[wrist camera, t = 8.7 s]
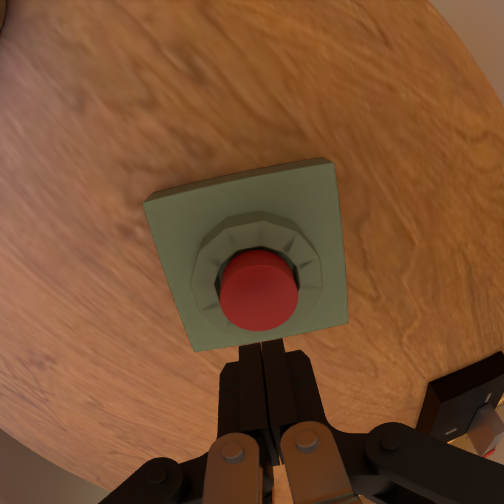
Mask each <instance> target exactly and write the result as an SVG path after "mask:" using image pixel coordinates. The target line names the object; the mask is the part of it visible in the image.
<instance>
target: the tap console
mask: <svg viewBox="0 0 504 504" xmlns="http://www.w3.org/2000/svg"><path fill="white" fill-rule="evenodd" d="M503 393H504V354H503V353H502V352H501V351H500V352H498V353H496V354H494V355H492V356H490V357H488V358H486V359H484V360H482V361H480V362H478V363H475V364H473V365H471V366H469V367H466V368H464V369H462V370H459V371H457V372H455V373H452V374H450V375H447V376H445V377H443V378H440V379H437V380H435V381H432V382H430V383H429V385H428V389H427V393H426V397H425V400H424V404H423V407H422V410H421V414H420V417H419V420H418V423H417V426H416V429H415V430H418V431H420V432H422V433H424V434H427V435H429V436H431V437H434V438H436V439H438V440H441V441H443V442H445V443H447V442H449V441H451V440H453V439H455V438H458V437H460V436H462V435H464V434H466V432H467V430H468V428H469V426H470V424H471V422H472V420H473V418H474V416H475V414H476V412H477V410H478V408H480V407H482V406H484V405H486V404H488V403H491V405H492V406H493V408H494V409H495V408H496V407H497V405H498V403H499V401H500V399H501V397H502V395H503ZM503 405H504V403H503V404H501V405H499V406H498V407H497V409H498V408H500V407H501V406H503ZM468 438H469V437H468V435H467V437H466V439H468Z"/></svg>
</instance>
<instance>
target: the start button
mask: <svg viewBox="0 0 504 504" xmlns="http://www.w3.org/2000/svg"><path fill="white" fill-rule="evenodd" d="M297 302H298V290H297V287H296V284H295V281H294V278H293V275H292V272H291V269H290V267H289V265H288V264H287V263H286V261H285V260H284V259H283V258H281V257H280V256H279V255H277V254H275V253H273V252H270V251H266V250H250V251H247V252H244V253H241V254H239V255H237V256H236V257H235V258H233V259H232V260H231V261H230V262H229V263H228V264H227V266H226V267H225V269H224V271H223V274H222V280H221V290H220V305H221V308H222V311H223V313H224V315H225V316H226V317H227V319H228V320H229V321H230V322H232V323H233V324H234V325H236V326H238V327H240V328H242V329H245V330H249V331H266V330H270V329H273V328H276V327H278V326H280V325H281V324H283V323H284V322H286V321H287V320H288V319H289V318H290V317H291V315H292V314H293V312H294V311H295V308H296V306H297Z"/></svg>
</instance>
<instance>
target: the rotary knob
mask: <svg viewBox="0 0 504 504" xmlns="http://www.w3.org/2000/svg"><path fill="white" fill-rule="evenodd" d="M466 433H467V435H468V437H469V438H470V440H471V442H472V444H473V445H474V448H475V449H476V451H477V453H478V455H479V456H480V457H483V458H486V457H488V456H489V455H491V454H493V452H494V451H495V448H496V446H497V445H498V443H499V442H500V440H501V439H502V437H503V436H504V423H503V422H502V420H501V419H500V417H499V416H498V414H497V412H496V411H495V409H494V408H493V406H492V405H491V403H488V404H486V405H484V406H482V407H480V408H478V410H477V412H476V414H475V416H474V418H473V420H472V422H471V424H470V426H469V428H468V430H467V432H466Z"/></svg>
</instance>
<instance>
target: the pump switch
mask: <svg viewBox="0 0 504 504" xmlns="http://www.w3.org/2000/svg"><path fill="white" fill-rule="evenodd" d="M142 204H143V207H144V210H145V214H146V217H147V220H148V224H149V227H150V230H151V233H152V237H153V240H154V243H155V246H156V249H157V252H158V255H159V258H160V261H161V264H162V267H163V270H164V273H165V276H166V279H167V282H168V284H169V287H170V290H171V293H172V296H173V298H174V301H175V304H176V307H177V309H178V312H179V315H180V317H181V320H182V323H183V325H184V328H185V330H186V333H187V336H188V338H189V341H190V343H191V346H192V348H193V351H194V352H199V351H206V350H213V349H220V348H226V347H232V346H238V345H244V344H250V343H256V342H261V341H267V340H272V339H277V338H282V337H287V336H292V335H297V334H302V333H307V332H311V331H316V330H321V329H325V328H329V327H334V326H338V325H342V324H346V323H348V300H347V282H346V268H345V255H344V243H343V233H342V223H341V213H340V204H339V196H338V188H337V180H336V173H335V165H334V162H332V161H330V160H327V159H325V158H323V157H322V158H316V159H310V160H304V161H298V162H292V163H287V164H281V165H276V166H270V167H265V168H260V169H255V170H250V171H245V172H240V173H235V174H231V175H226V176H221V177H217V178H212V179H208V180H204V181H199V182H195V183H191V184H187V185H182V186H178V187H174V188H170V189H166V190H162V191H159V192H155V193H152V194H151V195H150V196H149V197H148V198H147V199H146V200H145V201H144V202H143V203H142ZM250 250H266V251H270V252H273V253H275V254H277V255H279V256H280V257H281V258H283V259H284V260H285V261H286V263H287V264H288V265H289V267H290V269H291V272H292V275H293V278H294V281H295V284H296V287H297V290H298V302H297V306H296V308H295V311H294V312H293V314H292V315H291V317H290V318H289V319H288V320H287V321H286V322H284V323H283V324H281V325H280V326H278V327H276V328H273V329H270V330H266V331H249V330H245V329H242V328H240V327H238V326H236V325H234V324H233V323H232V322H230V321H229V320H228V319H227V317H226V316H225V315H224V313H223V311H222V308H221V305H220V290H221V280H222V274H223V271H224V269H225V267H226V266H227V264H228V263H229V262H230V261H231V260H232V259H233V258H235V257H236V256H237V255H239V254H241V253H244V252H247V251H250Z"/></svg>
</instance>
